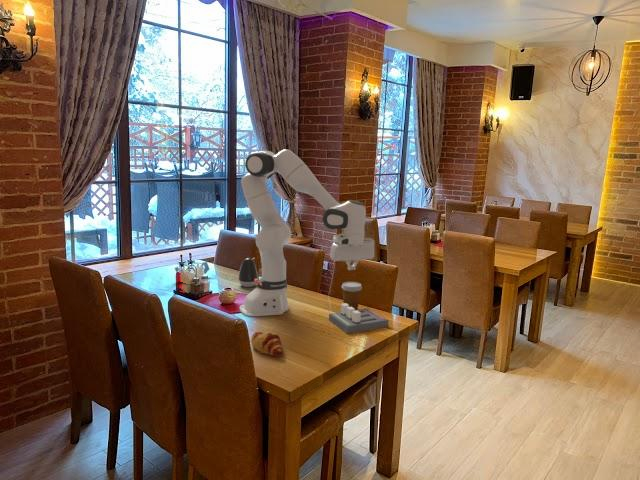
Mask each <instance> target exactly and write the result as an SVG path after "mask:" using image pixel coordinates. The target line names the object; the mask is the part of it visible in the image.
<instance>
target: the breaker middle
mask: <svg viewBox="0 0 640 480" xmlns="http://www.w3.org/2000/svg"><path fill="white" fill-rule="evenodd" d="M352 311H355V309H354V308H353V307H347V311H346V316H347V317H348V318H349V319H350V318H352Z"/></svg>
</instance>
